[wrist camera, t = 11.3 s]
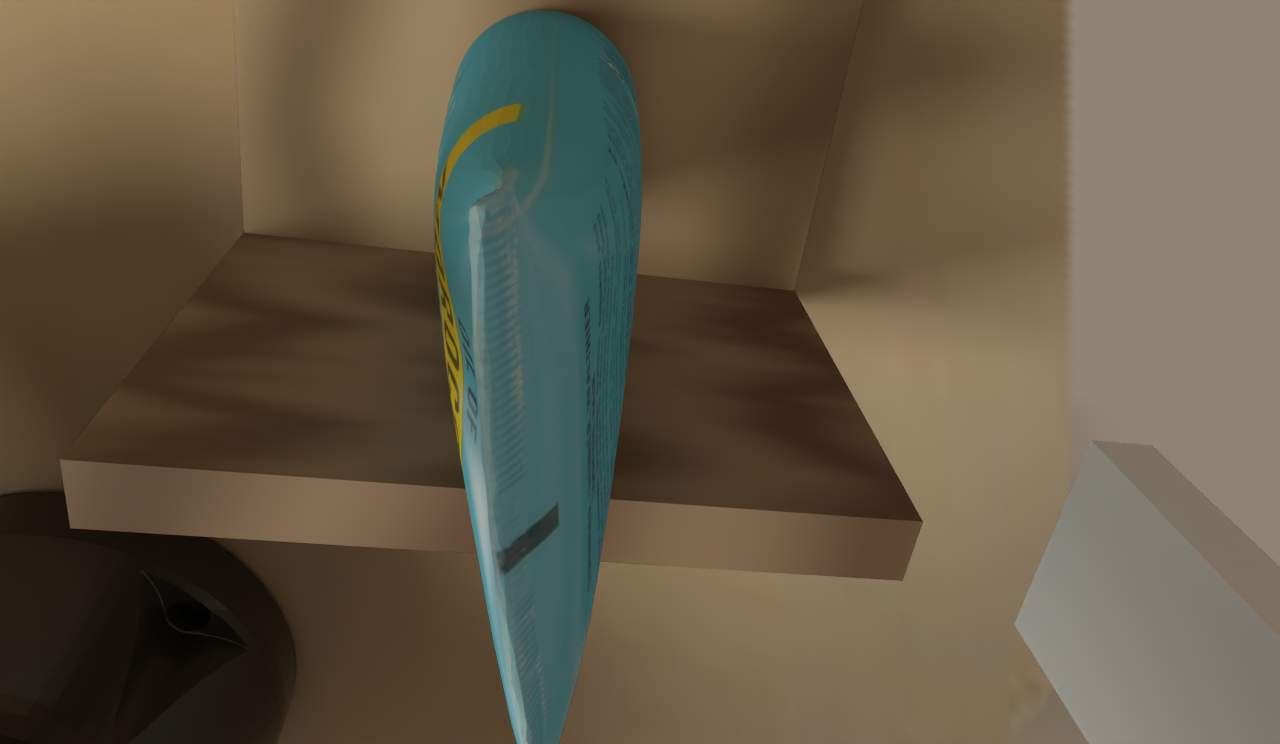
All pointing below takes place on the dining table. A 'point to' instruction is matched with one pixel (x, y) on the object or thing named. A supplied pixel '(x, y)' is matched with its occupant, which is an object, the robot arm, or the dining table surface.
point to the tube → (538, 329)
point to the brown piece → (411, 322)
